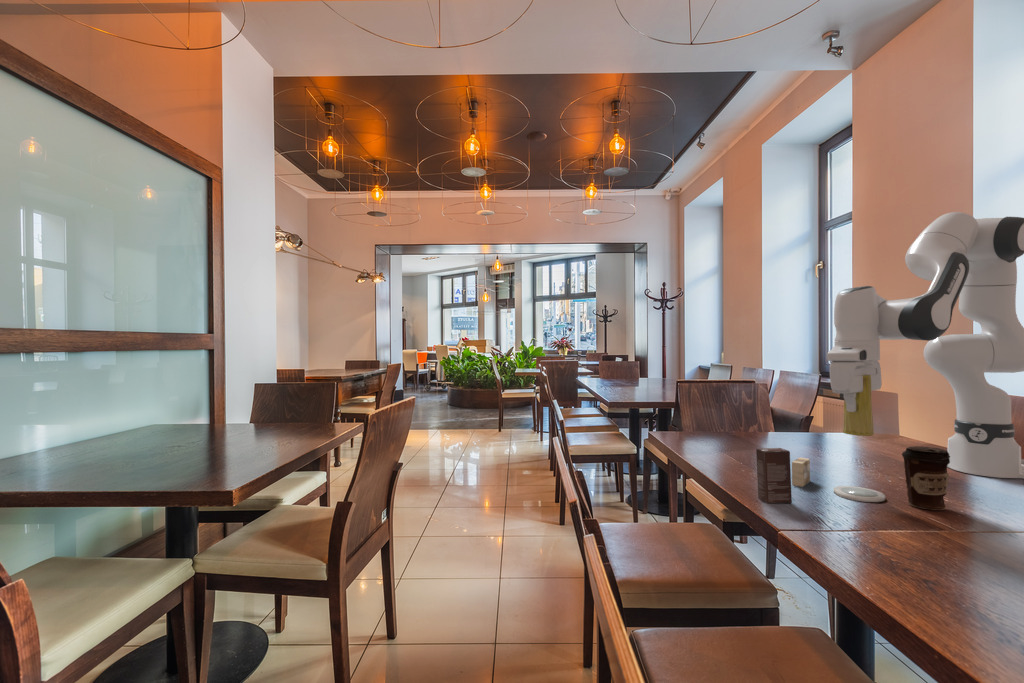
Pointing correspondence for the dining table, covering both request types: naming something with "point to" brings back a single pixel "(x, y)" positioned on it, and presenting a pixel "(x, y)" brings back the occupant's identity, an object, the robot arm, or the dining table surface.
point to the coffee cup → (926, 476)
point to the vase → (860, 412)
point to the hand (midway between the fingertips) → (858, 410)
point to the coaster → (859, 494)
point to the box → (774, 475)
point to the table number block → (800, 471)
